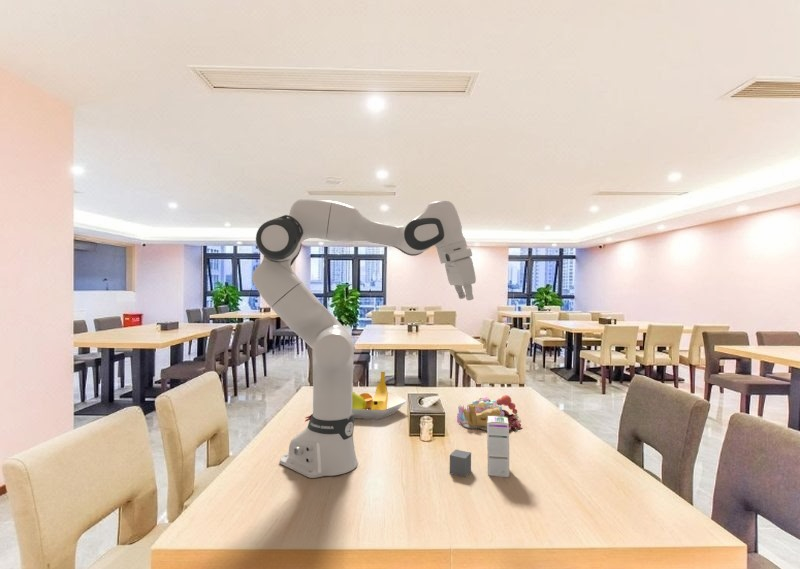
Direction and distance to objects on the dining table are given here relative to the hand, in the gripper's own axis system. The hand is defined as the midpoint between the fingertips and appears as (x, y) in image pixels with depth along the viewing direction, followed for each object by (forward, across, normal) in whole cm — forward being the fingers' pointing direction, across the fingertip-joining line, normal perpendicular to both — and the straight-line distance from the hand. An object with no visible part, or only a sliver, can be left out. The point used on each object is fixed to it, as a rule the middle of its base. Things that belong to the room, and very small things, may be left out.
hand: (466, 299), depth 121 cm
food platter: (+51, -31, +3) cm, 60 cm away
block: (+44, +10, -17) cm, 48 cm away
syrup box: (+47, +11, -7) cm, 49 cm away
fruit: (+39, -46, -40) cm, 72 cm away
